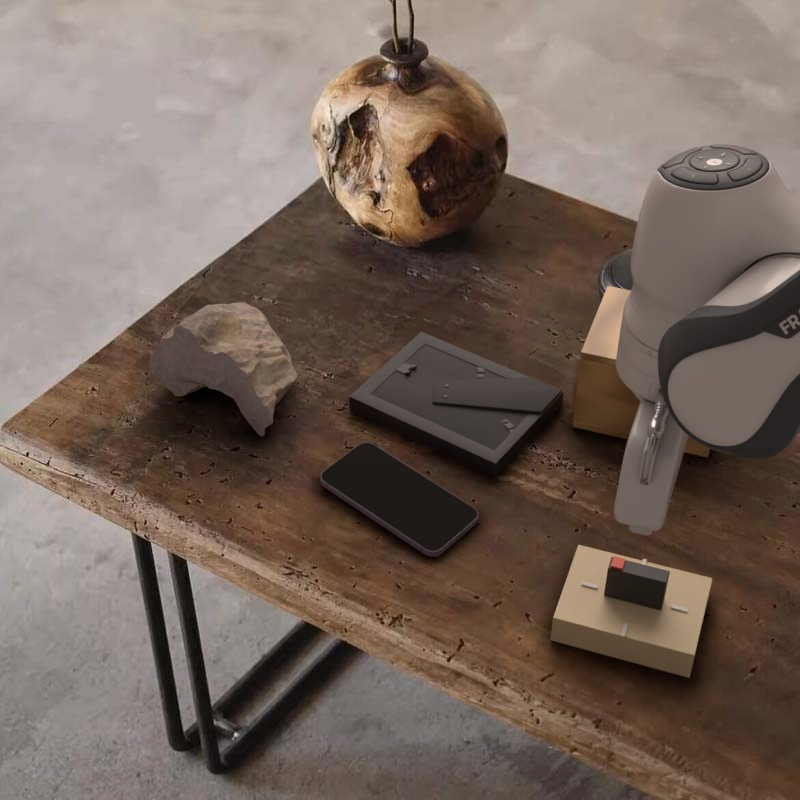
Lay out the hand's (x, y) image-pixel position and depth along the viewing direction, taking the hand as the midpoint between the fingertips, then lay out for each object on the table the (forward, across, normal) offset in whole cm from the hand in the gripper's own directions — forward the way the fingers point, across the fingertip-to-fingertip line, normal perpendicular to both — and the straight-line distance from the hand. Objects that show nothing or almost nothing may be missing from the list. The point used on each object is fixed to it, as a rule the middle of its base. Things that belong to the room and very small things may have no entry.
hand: (653, 487), depth 105 cm
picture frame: (+16, +22, +23) cm, 36 cm away
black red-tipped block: (+13, 0, 0) cm, 13 cm away
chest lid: (+7, +29, +3) cm, 30 cm away
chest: (+16, +29, +4) cm, 33 cm away
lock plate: (+16, 0, 0) cm, 16 cm away
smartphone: (+16, +7, +24) cm, 30 cm away
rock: (+17, +18, +45) cm, 51 cm away
